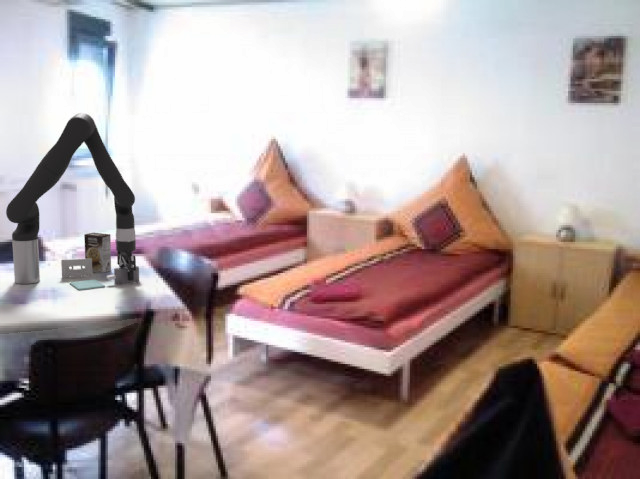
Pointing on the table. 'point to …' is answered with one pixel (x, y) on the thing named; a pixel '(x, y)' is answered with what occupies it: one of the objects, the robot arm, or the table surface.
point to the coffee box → (98, 251)
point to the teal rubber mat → (87, 284)
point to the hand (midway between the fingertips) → (126, 278)
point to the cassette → (76, 272)
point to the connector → (123, 275)
